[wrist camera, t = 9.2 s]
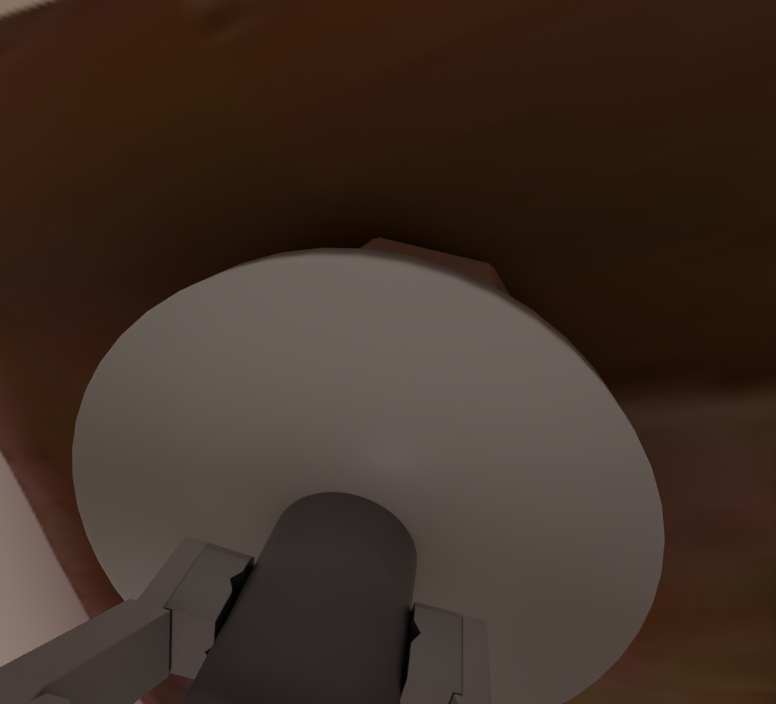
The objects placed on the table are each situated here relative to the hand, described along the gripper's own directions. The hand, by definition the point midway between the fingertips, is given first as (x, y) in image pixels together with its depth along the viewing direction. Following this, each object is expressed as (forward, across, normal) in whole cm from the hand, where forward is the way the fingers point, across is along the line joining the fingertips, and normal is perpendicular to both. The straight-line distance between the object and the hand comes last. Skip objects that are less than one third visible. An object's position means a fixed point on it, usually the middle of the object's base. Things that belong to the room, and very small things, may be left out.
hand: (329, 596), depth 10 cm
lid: (+2, 0, 0) cm, 2 cm away
